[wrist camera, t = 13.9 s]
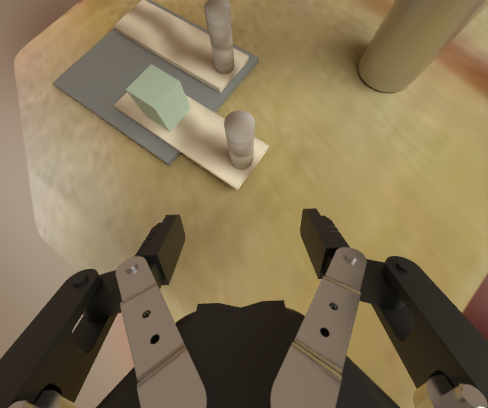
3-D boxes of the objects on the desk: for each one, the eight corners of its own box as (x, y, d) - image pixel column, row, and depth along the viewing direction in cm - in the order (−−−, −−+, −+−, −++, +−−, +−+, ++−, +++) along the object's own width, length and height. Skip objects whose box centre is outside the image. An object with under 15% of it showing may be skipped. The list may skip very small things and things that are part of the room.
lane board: (149, 3, 38) (146, -2, 37) (258, 62, 34) (258, 57, 33) (57, 87, 33) (52, 83, 33) (169, 165, 29) (167, 163, 29)
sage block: (166, 93, 31) (151, 63, 26) (191, 108, 30) (179, 81, 25) (145, 115, 30) (125, 89, 25) (170, 132, 29) (154, 108, 24)
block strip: (149, 75, 32) (114, 13, 24) (268, 148, 29) (276, 105, 20) (116, 109, 31) (67, 55, 22) (237, 190, 27) (232, 163, 19)
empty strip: (145, 4, 37) (113, -71, 28) (248, 60, 33) (248, -7, 24) (115, 31, 35) (73, -40, 27) (220, 92, 31) (210, 33, 23)
